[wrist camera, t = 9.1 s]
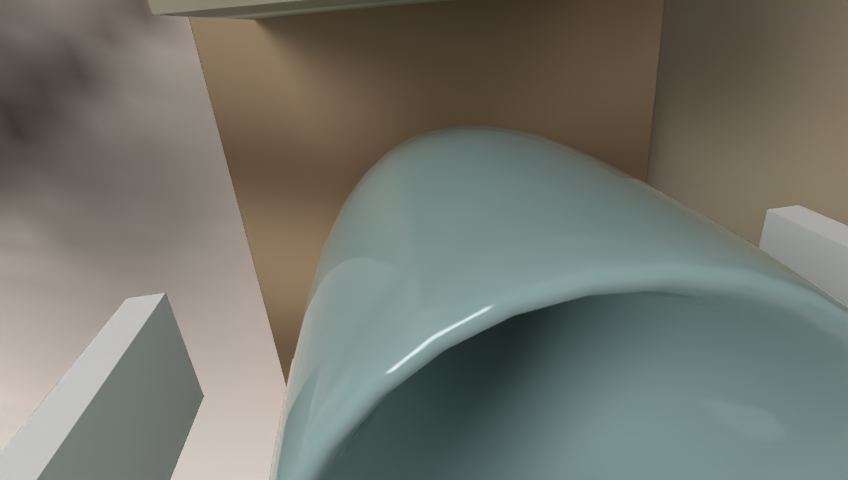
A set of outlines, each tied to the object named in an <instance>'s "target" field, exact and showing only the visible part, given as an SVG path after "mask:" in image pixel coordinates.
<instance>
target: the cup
mask: <svg viewBox="0 0 848 480" xmlns="http://www.w3.org/2000/svg"><path fill="white" fill-rule="evenodd" d="M269 480H848V305H847V304H846V303H845V302H843V301H842V300H841V299H839V298H838V297H836V296H835V295H833V294H832V293H830V292H829V291H828V290H826V289H825V288H823V287H822V286H820V285H819V284H817V283H816V282H814V281H813V280H811V279H810V278H808V277H806V276H805V275H803V274H801V273H800V272H798V271H797V270H795V269H793V268H792V267H790V266H788V265H787V264H785V263H784V262H782V261H780V260H779V259H777V258H775V257H774V256H772V255H770V254H768V253H767V252H765V251H763V250H762V249H760V248H758V247H757V246H755V245H753V244H752V243H750V242H748V241H747V240H745V239H743V238H742V237H740V236H738V235H737V234H735V233H733V232H731V231H730V230H728V229H726V228H724V227H723V226H721V225H719V224H717V223H716V222H714V221H712V220H710V219H709V218H707V217H705V216H704V215H702V214H700V213H698V212H696V211H695V210H693V209H691V208H689V207H687V206H686V205H684V204H682V203H680V202H678V201H677V200H675V199H673V198H671V197H670V196H668V195H666V194H664V193H662V192H660V191H659V190H657V189H655V188H653V187H651V186H650V185H648V184H646V183H644V182H642V181H641V180H639V179H637V178H635V177H633V176H631V175H629V174H627V173H626V172H624V171H622V170H620V169H618V168H616V167H614V166H612V165H610V164H608V163H606V162H604V161H602V160H600V159H598V158H596V157H594V156H592V155H589V154H587V153H585V152H583V151H580V150H578V149H576V148H573V147H570V146H568V145H565V144H562V143H559V142H556V141H553V140H551V139H548V138H545V137H542V136H539V135H536V134H533V133H531V132H528V131H525V130H519V129H514V128H507V127H501V126H494V125H487V124H463V125H448V126H444V127H440V128H436V129H433V130H429V131H425V132H422V133H418V134H416V135H414V136H413V137H411V138H409V139H407V140H405V141H404V142H402V143H400V144H398V145H396V146H395V147H393V148H392V149H391V150H389V151H388V152H387V153H386V154H385V155H384V156H383V157H381V158H380V159H379V160H378V161H377V162H376V163H375V164H373V165H372V166H371V167H370V168H369V169H368V170H367V171H366V172H365V174H364V175H363V176H362V177H361V179H360V180H359V181H358V183H357V184H356V185H355V187H354V188H353V189H352V191H351V192H350V193H349V194H348V196H347V198H346V199H345V201H344V203H343V205H342V207H341V209H340V211H339V213H338V215H337V216H336V218H335V220H334V222H333V224H332V226H331V228H330V230H329V232H328V234H327V237H326V239H325V242H324V244H323V247H322V250H321V253H320V256H319V259H318V263H317V266H316V269H315V273H314V276H313V279H312V283H311V286H310V290H309V293H308V296H307V300H306V303H305V307H304V311H303V315H302V319H301V323H300V327H299V332H298V336H297V340H296V345H295V349H294V354H293V359H292V363H291V368H290V373H289V378H288V382H287V387H286V392H285V397H284V402H283V407H282V411H281V416H280V421H279V426H278V432H277V437H276V442H275V447H274V452H273V458H272V464H271V470H270V476H269Z"/></svg>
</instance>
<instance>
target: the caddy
mask: <svg viewBox="0 0 848 480" xmlns="http://www.w3.org/2000/svg"><path fill="white" fill-rule="evenodd" d="M664 1H665V0H148V3H149V6H150V10H151V13H152V15H167V16H187V17H189V21H190V25H191V29H192V32H193V36H194V40H195V44H196V47H197V51H198V55H199V59H200V62H201V66H202V70H203V74H204V78H205V81H206V85H207V89H208V93H209V96H210V100H211V104H212V108H213V111H214V115H215V119H216V123H217V127H218V130H219V134H220V138H221V142H222V145H223V149H224V153H225V157H226V160H227V164H228V168H229V172H230V176H231V179H232V183H233V187H234V191H235V194H236V198H237V202H238V206H239V210H240V213H241V217H242V221H243V225H244V228H245V232H246V236H247V240H248V243H249V247H250V251H251V255H252V259H253V262H254V266H255V270H256V274H257V277H258V281H259V285H260V289H261V292H262V296H263V300H264V304H265V308H266V311H267V315H268V319H269V323H270V326H271V330H272V334H273V338H274V341H275V345H276V349H277V353H278V357H279V360H280V364H281V368H282V372H283V375H284V379H285V383H286V387H287V382H288V378H289V373H290V368H291V363H292V359H293V354H294V349H295V345H296V340H297V336H298V332H299V327H300V323H301V319H302V315H303V311H304V307H305V303H306V300H307V296H308V293H309V290H310V286H311V283H312V279H313V276H314V273H315V269H316V266H317V263H318V259H319V256H320V253H321V250H322V247H323V244H324V242H325V239H326V237H327V234H328V232H329V230H330V228H331V226H332V224H333V222H334V220H335V218H336V216H337V215H338V213H339V211H340V209H341V207H342V205H343V203H344V201H345V199H346V198H347V196H348V194H349V193H350V192H351V191H352V189H353V188H354V187H355V185H356V184H357V183H358V181H359V180H360V179H361V177H362V176H363V175H364V174H365V172H366V171H367V170H368V169H369V168H370V167H371V166H372V165H373V164H375V163H376V162H377V161H378V160H379V159H380V158H381V157H383V156H384V155H385V154H386V153H387V152H388V151H389V150H391V149H392V148H393V147H395V146H396V145H398V144H400V143H402V142H404V141H405V140H407V139H409V138H411V137H413V136H414V135H416V134H418V133H422V132H425V131H429V130H433V129H436V128H440V127H444V126H448V125H463V124H487V125H494V126H501V127H507V128H514V129H519V130H525V131H528V132H531V133H533V134H536V135H539V136H542V137H545V138H548V139H551V140H553V141H556V142H559V143H562V144H565V145H568V146H570V147H573V148H576V149H578V150H580V151H583V152H585V153H587V154H589V155H592V156H594V157H596V158H598V159H600V160H602V161H604V162H606V163H608V164H610V165H612V166H614V167H616V168H618V169H620V170H622V171H624V172H626V173H627V174H629V175H631V176H633V177H635V178H637V179H639V180H641V181H642V182H644V183H646V180H647V170H648V160H649V150H650V140H651V130H652V120H653V110H654V100H655V90H656V80H657V70H658V60H659V50H660V41H661V31H662V21H663V11H664Z"/></svg>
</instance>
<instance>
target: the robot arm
mask: <svg viewBox="0 0 848 480" xmlns="http://www.w3.org/2000/svg"><path fill="white" fill-rule="evenodd" d="M759 248H760V249H762V250H763V251H765V252H767V253H768V254H770V255H772V256H774V257H775V258H777V259H779V260H780V261H782V262H784V263H785V264H787V265H788V266H790V267H792V268H793V269H795V270H797V271H798V272H800V273H801V274H803V275H805V276H806V277H808V278H810V279H811V280H813V281H814V282H816V283H817V284H819V285H820V286H822V287H823V288H825V289H826V290H828V291H829V292H830V293H832V294H833V295H835V296H836V297H838V298H839V299H841V300H842V301H843V302H845V303H846V304H847V305H848V226H847V225H844V224H842V223H840V222H837V221H835V220H833V219H830V218H828V217H826V216H823V215H821V214H819V213H816V212H814V211H812V210H809V209H807V208H805V207H802V206H800V205H796V206H789V207H782V208H775V209H767V213H766V217H765V222H764V226H763V231H762V235H761V239H760V244H759ZM203 397H204V395H203V393H202V390H201V387H200V385H199V382H198V379H197V377H196V374H195V371H194V368H193V366H192V363H191V360H190V358H189V355H188V352H187V349H186V347H185V344H184V341H183V339H182V336H181V333H180V330H179V328H178V325H177V322H176V320H175V317H174V314H173V311H172V309H171V306H170V303H169V301H168V298H167V295H166V293H160V294H153V295H146V296H138V297H131V298H126V300H125V301H124V302H123V303H122V305H121V306H120V307H119V308H118V310H117V311H116V312H115V313H114V314H113V316H112V317H111V318H110V319H109V321H108V322H107V323H106V324H105V325H104V327H103V328H102V329H101V330H100V332H99V333H98V334H97V335H96V337H95V338H94V339H93V340H92V341H91V343H90V344H89V345H88V346H87V348H86V349H85V350H84V351H83V352H82V354H81V355H80V356H79V357H78V359H77V360H76V361H75V362H74V364H73V365H72V366H71V367H70V368H69V370H68V371H67V372H66V373H65V375H64V376H63V377H62V378H61V379H60V381H59V382H58V383H57V384H56V386H55V387H54V388H53V389H52V391H51V392H50V393H49V394H48V395H47V397H46V398H45V399H44V400H43V402H42V403H41V404H40V405H39V406H38V408H37V409H36V410H35V411H34V413H33V414H32V415H31V416H30V417H29V419H28V420H27V421H26V422H25V424H24V425H23V426H22V427H21V429H20V430H19V431H18V432H17V433H16V435H15V436H14V437H13V438H12V440H11V441H10V442H9V443H8V444H7V446H6V447H5V448H4V449H3V451H2V452H1V453H0V480H170V479H171V476H172V474H173V471H174V469H175V466H176V464H177V461H178V459H179V456H180V454H181V451H182V449H183V446H184V444H185V441H186V439H187V436H188V434H189V431H190V429H191V426H192V424H193V421H194V419H195V417H196V414H197V412H198V409H199V407H200V404H201V402H202V399H203Z"/></svg>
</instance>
